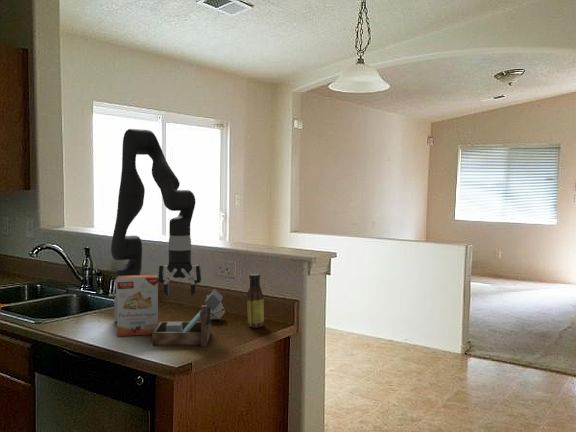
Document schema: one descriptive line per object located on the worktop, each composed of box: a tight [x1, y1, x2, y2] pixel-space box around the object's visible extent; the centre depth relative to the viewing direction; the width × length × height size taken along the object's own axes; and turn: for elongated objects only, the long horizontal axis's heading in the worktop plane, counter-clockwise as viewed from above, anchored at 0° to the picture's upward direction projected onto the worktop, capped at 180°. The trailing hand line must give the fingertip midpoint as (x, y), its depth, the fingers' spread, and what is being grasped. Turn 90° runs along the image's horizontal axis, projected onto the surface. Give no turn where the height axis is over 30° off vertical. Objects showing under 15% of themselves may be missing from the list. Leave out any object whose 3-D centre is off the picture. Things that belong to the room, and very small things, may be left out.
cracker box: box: [116, 274, 159, 338], centre depth 188 cm, size 14×6×21 cm, turn 106°
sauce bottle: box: [246, 273, 265, 329], centre depth 200 cm, size 7×6×20 cm
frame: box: [151, 294, 212, 348], centre depth 182 cm, size 18×18×14 cm
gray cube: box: [166, 321, 184, 332], centre depth 182 cm, size 5×5×5 cm
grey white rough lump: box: [211, 299, 228, 322], centre depth 208 cm, size 9×8×10 cm
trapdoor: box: [182, 288, 224, 332], centre depth 182 cm, size 18×12×4 cm
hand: (179, 294), depth 181 cm, fingers open, 8 cm apart
